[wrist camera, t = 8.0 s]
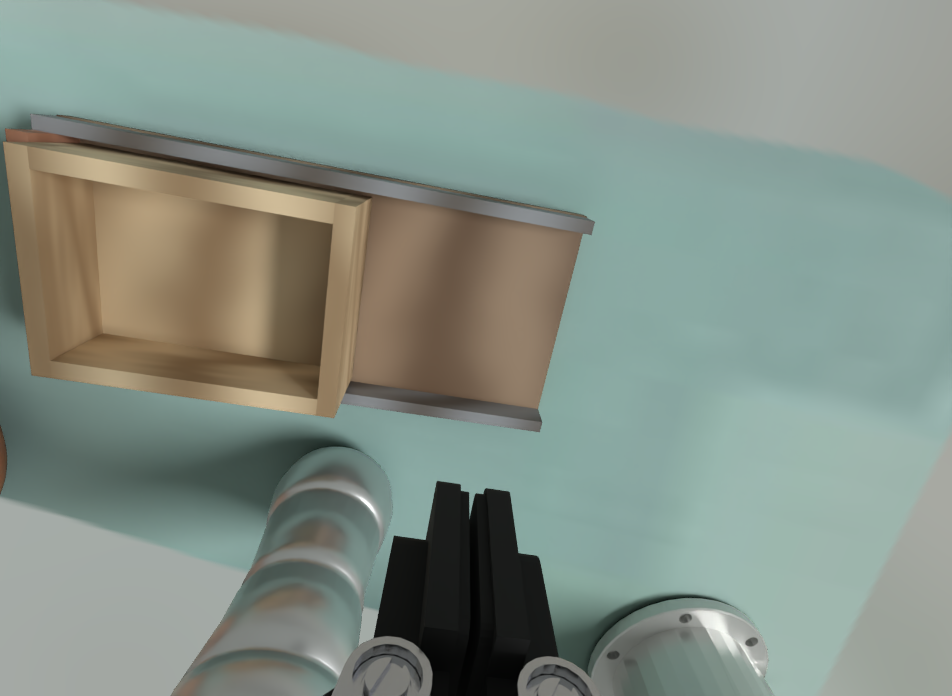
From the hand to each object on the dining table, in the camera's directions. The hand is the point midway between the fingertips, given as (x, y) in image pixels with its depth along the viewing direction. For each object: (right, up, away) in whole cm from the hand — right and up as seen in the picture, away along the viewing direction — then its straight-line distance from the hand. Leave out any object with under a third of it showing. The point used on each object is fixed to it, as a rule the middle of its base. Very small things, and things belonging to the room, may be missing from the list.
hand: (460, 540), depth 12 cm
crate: (-12, +8, +13) cm, 19 cm away
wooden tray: (-7, +8, +15) cm, 18 cm away
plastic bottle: (-8, -3, +19) cm, 21 cm away
